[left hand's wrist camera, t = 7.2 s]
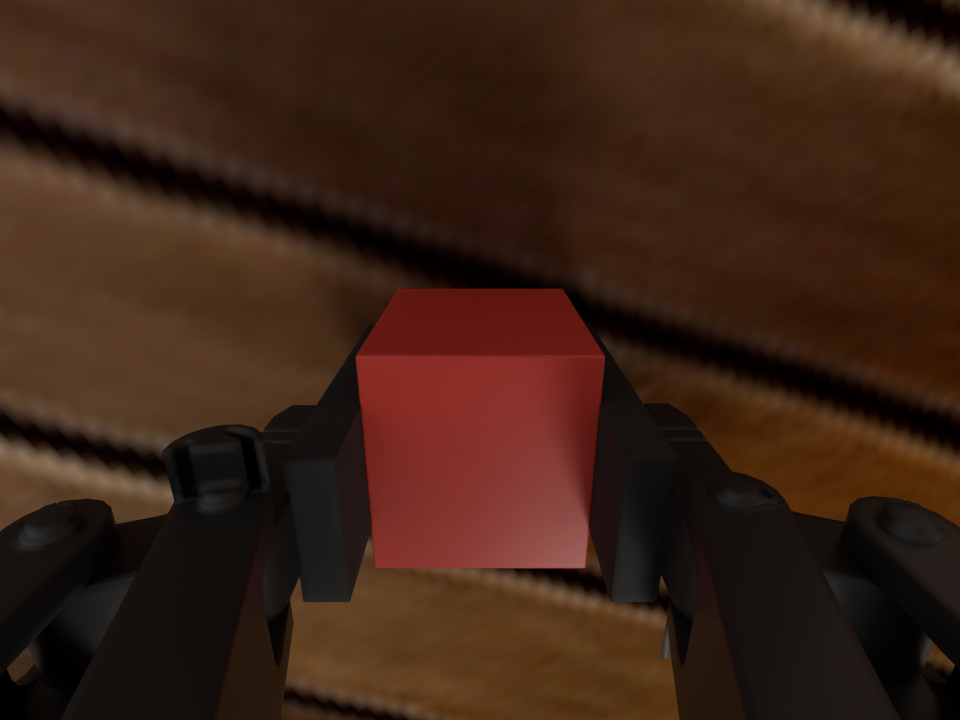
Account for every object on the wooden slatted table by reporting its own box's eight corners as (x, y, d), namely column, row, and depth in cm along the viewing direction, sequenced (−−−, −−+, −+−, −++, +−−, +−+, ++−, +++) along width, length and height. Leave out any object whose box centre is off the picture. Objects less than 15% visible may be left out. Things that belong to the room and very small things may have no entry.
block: (406, 444, 15) (374, 569, 11) (397, 288, 14) (354, 355, 9) (554, 444, 15) (586, 569, 11) (563, 287, 14) (606, 355, 9)
